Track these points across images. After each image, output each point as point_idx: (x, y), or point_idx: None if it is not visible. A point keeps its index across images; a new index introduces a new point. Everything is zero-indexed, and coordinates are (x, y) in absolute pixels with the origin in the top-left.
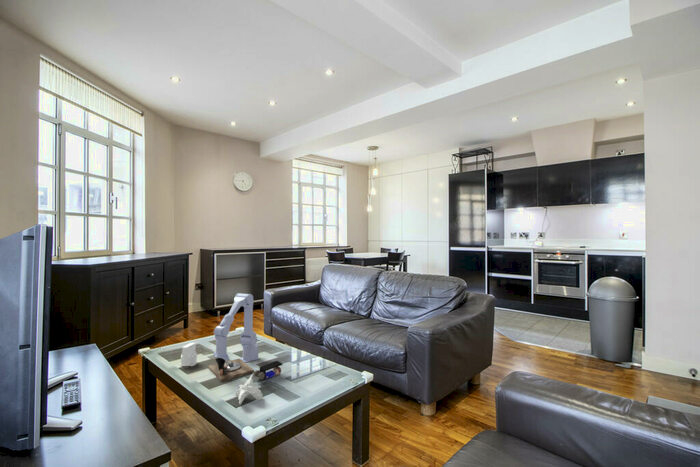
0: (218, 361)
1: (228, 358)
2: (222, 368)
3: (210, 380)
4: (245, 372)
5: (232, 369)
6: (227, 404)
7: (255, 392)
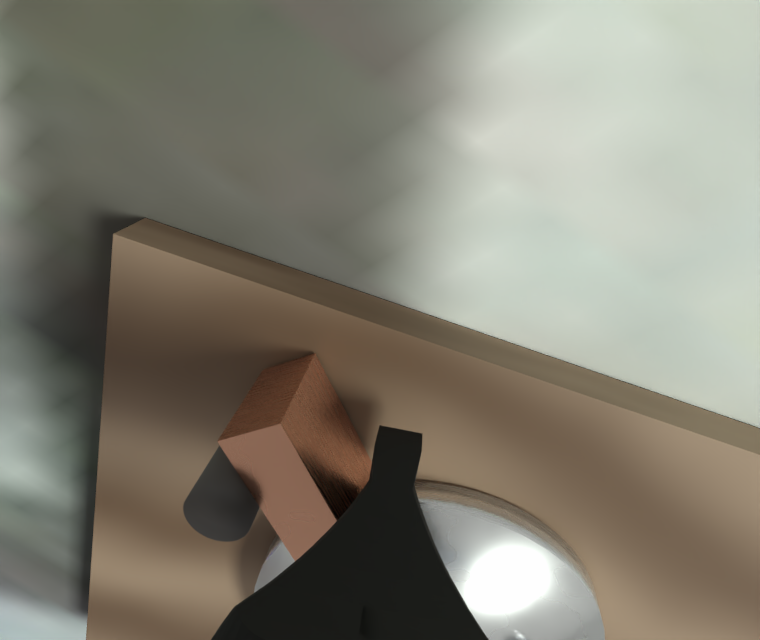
0: (238, 611)
1: None
2: (274, 476)
3: (360, 133)
4: (95, 572)
5: (267, 561)
6: None
7: None
